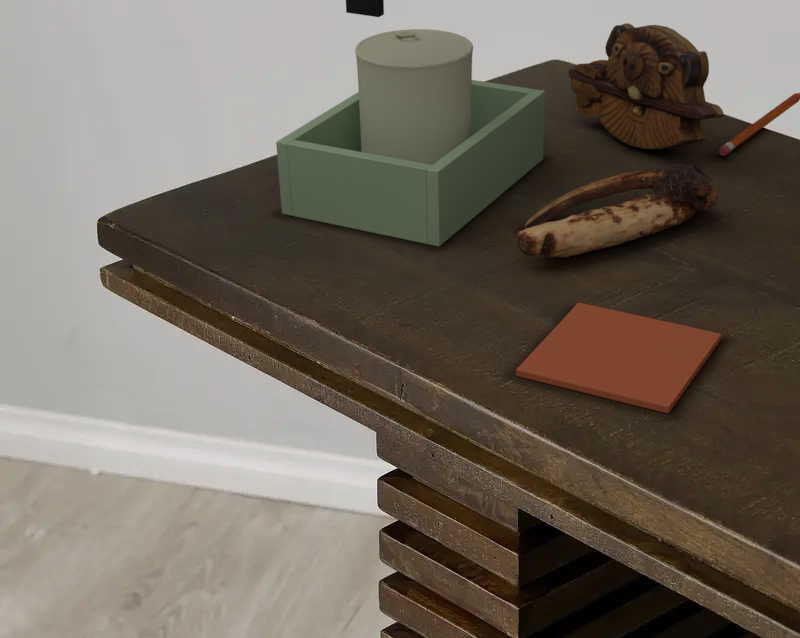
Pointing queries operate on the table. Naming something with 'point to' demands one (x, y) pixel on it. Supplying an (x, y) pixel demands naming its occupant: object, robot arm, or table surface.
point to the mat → (620, 357)
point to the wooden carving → (647, 88)
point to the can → (414, 93)
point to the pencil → (759, 124)
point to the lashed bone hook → (618, 211)
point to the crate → (411, 169)
